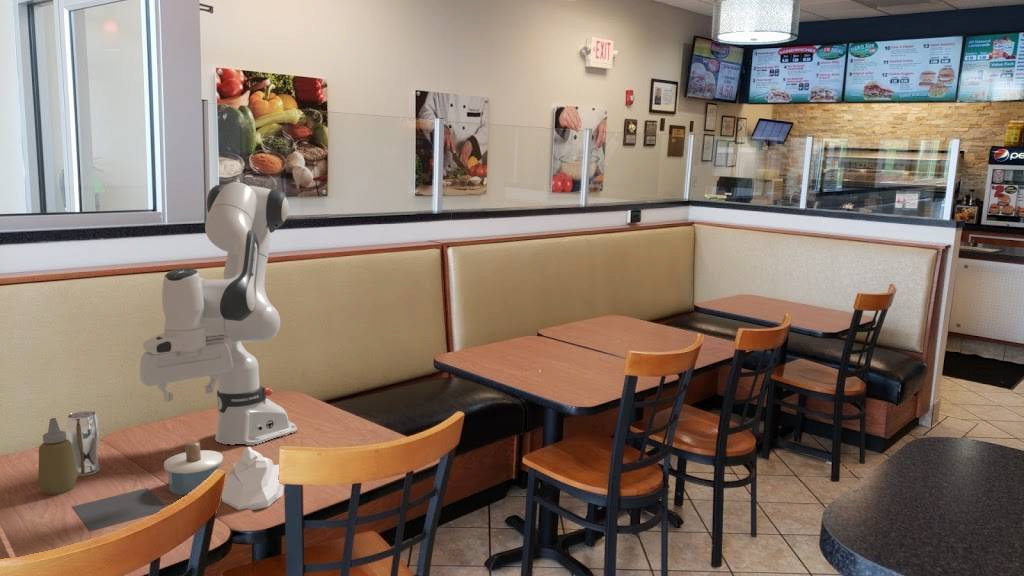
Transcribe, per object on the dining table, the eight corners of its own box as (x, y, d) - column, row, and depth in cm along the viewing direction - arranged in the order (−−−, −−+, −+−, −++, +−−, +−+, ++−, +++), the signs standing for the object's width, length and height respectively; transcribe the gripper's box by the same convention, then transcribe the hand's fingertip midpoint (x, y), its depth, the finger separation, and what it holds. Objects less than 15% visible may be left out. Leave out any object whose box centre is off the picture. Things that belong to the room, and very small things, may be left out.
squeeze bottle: (50, 486, 188) (43, 414, 185) (85, 484, 189) (78, 413, 186) (32, 499, 180) (25, 424, 178) (69, 498, 181) (62, 423, 178)
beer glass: (88, 478, 193) (83, 419, 191) (64, 475, 194) (59, 417, 192) (108, 467, 200) (103, 411, 198) (84, 465, 201) (79, 409, 199)
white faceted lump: (293, 510, 178) (286, 459, 172) (223, 526, 173) (214, 473, 167) (286, 478, 189) (280, 428, 183) (221, 491, 184) (212, 441, 178)
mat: (147, 491, 185) (147, 487, 185) (169, 512, 173) (169, 509, 173) (72, 509, 175) (71, 506, 175) (90, 534, 163) (89, 530, 163)
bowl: (210, 476, 194) (208, 451, 193) (226, 489, 186) (225, 463, 185) (163, 487, 187) (162, 462, 186) (179, 502, 179) (177, 475, 178)
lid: (211, 449, 195) (210, 431, 194) (231, 464, 185) (230, 444, 184) (156, 462, 186) (155, 442, 185) (174, 477, 176) (173, 457, 176)
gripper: (225, 331, 190) (228, 386, 192) (135, 343, 177) (140, 402, 179) (235, 335, 185) (238, 391, 188) (143, 348, 172) (148, 408, 174)
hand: (189, 397), depth 183 cm, fingers open, 8 cm apart
